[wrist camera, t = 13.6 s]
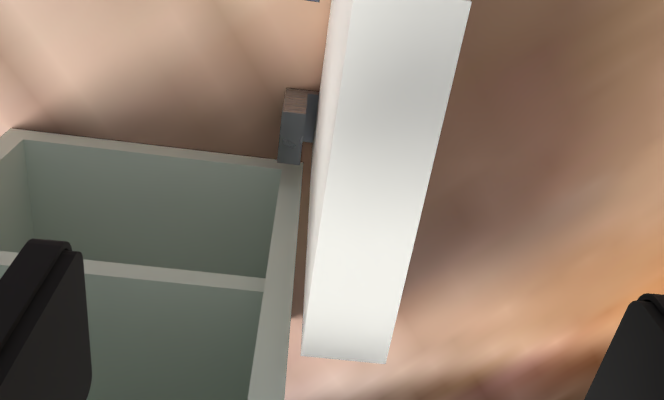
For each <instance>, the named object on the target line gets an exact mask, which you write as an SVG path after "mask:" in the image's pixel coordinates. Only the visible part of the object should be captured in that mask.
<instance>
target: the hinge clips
mask: <svg viewBox="0 0 664 400" xmlns="http://www.w3.org/2000/svg"><path fill="white" fill-rule="evenodd" d="M307 1H314V2H319V0H307ZM318 100H319V92H315V91H307V90H299V89H292V88H286V92H285V98H284V103H283V109H282V117H281V127H280V137H279V147H278V157H277V163H284V164H292V165H300V159H301V150H302V142H311V143H313V138H314V131H315V123H316V115H317V108H318Z"/></svg>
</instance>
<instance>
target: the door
mask: <svg viewBox="0 0 664 400" xmlns="http://www.w3.org/2000/svg"><path fill="white" fill-rule="evenodd" d="M471 3H472V1H471V0H332V1H331V8H330V16H329V24H328V31H327V39H326V46H325V54H324V62H323V69H322V77H321V85H320V92H319V100H318V108H317V115H316V123H315V131H314V138H313V146H312V161H311V179H310V197H309V215H308V233H307V251H306V270H305V288H304V306H303V324H302V342H301V356H308V357H318V358H328V359H339V360H349V361H359V362H369V363H380V364H386V360H387V355H388V351H389V347H390V343H391V339H392V334H393V330H394V326H395V322H396V318H397V313H398V309H399V305H400V301H401V297H402V292H403V288H404V284H405V280H406V276H407V271H408V267H409V263H410V259H411V255H412V250H413V246H414V242H415V238H416V234H417V230H418V225H419V221H420V217H421V213H422V209H423V204H424V200H425V196H426V192H427V188H428V183H429V179H430V175H431V171H432V167H433V162H434V158H435V154H436V150H437V146H438V141H439V137H440V133H441V129H442V125H443V120H444V116H445V112H446V108H447V104H448V99H449V95H450V91H451V87H452V83H453V78H454V74H455V70H456V66H457V62H458V57H459V53H460V49H461V45H462V41H463V36H464V32H465V28H466V24H467V20H468V16H469V11H470V7H471Z"/></svg>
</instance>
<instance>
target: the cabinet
mask: <svg viewBox="0 0 664 400" xmlns="http://www.w3.org/2000/svg"><path fill="white" fill-rule="evenodd" d="M302 174H303V163H301V162H300V165H292V164H284V163H277V160H275V159H267V158H258V157H250V156H241V155H233V154H224V153H216V152H207V151H199V150H191V149H182V148H174V147H165V146H157V145H148V144H140V143H131V142H123V141H114V140H106V139H97V138H89V137H80V136H72V135H63V134H55V133H46V132H38V131H29V130H21V129H12V128H10V129H9V130H8V131H7V132H6V133H4V134H3V135H2V136H1V137H0V279H1V277H2V276H3V274H4V273H5V272H6V270H7V269H8V267H9V266H10V265H11V263H12V262H13V260H14V259H15V258H16V256H17V255H18V254H19V252H20V251H21V249H22V248H23V247H24V245H25V244H26V243H27V241H28V240H29V239H33V238H34V239H46V240H57V241H67V242H69V243H70V245H71V247H72V251H79V252H81V253H82V255H83V263H84V275H85V288H86V301H87V314H88V326H89V339H90V352H91V365H92V381H91V387H90V391H89V394H88V397H87V399H86V400H284V395H285V383H286V371H287V358H288V346H289V334H290V321H291V309H292V297H293V285H294V272H295V260H296V248H297V235H298V223H299V211H300V198H301V186H302Z"/></svg>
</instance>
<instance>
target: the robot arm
mask: <svg viewBox="0 0 664 400" xmlns="http://www.w3.org/2000/svg"><path fill="white" fill-rule="evenodd" d="M91 381H92V365H91V352H90V339H89V326H88V314H87V301H86V288H85V275H84V263H83V255H82V253H81V252H79V251H72V247H71V245H70V243H69V242H67V241H57V240H46V239H34V238H33V239H29V240H28V241H27V243H26V244H25V245H24V247H23V248H22V249H21V251H20V252H19V254H18V255H17V256H16V258H15V259H14V260H13V262H12V263H11V265H10V266H9V267H8V269H7V270H6V272H5V273H4V274H3V276H2V277H1V279H0V400H86V399H87V397H88V394H89V391H90V387H91ZM584 400H664V295H660V294H649V293H647V294H643V295H642V296H640V297H639V298H638V300H637V301H633V302H631V303H630V304H629V306H628V308H627V310H626V312H625V314H624V316H623V318H622V320H621V322H620V325H619V327H618V329H617V331H616V333H615V335H614V337H613V339H612V342H611V344H610V346H609V348H608V350H607V352H606V354H605V357H604V359H603V361H602V363H601V365H600V367H599V369H598V371H597V374H596V376H595V378H594V380H593V382H592V384H591V386H590V388H589V391H588V393H587V395H586V397H585V399H584Z"/></svg>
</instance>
